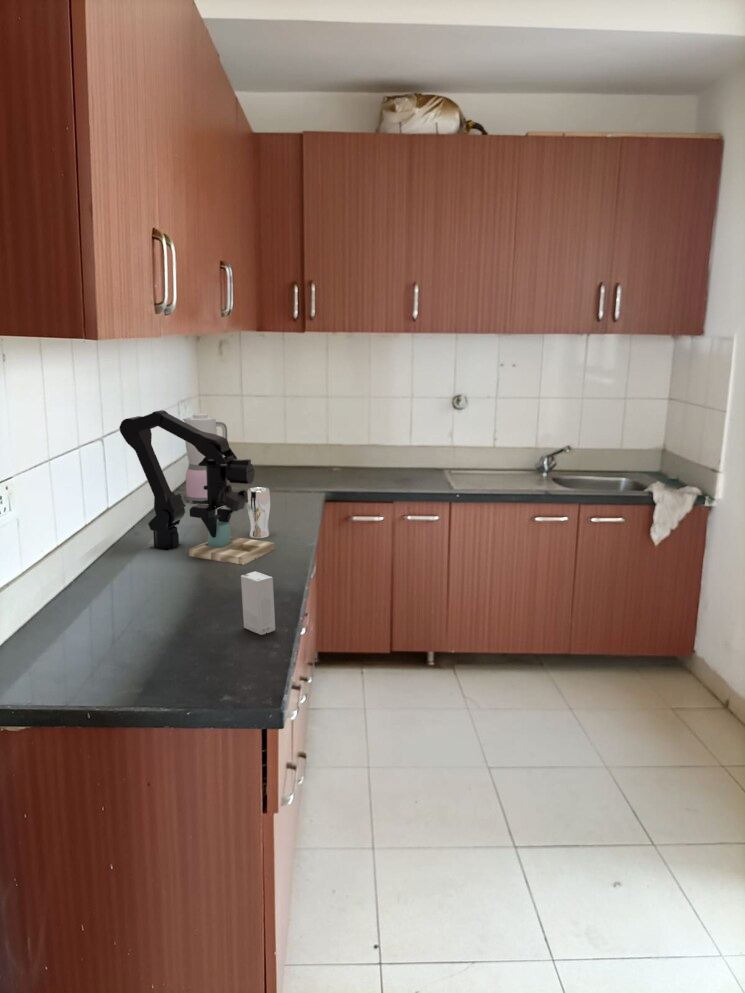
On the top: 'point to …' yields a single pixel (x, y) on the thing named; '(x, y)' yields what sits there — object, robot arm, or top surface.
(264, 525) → the beer glass
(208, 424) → the blender
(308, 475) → the top surface
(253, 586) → the skincare box
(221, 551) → the pocket board
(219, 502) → the robot arm
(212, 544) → the teal block
